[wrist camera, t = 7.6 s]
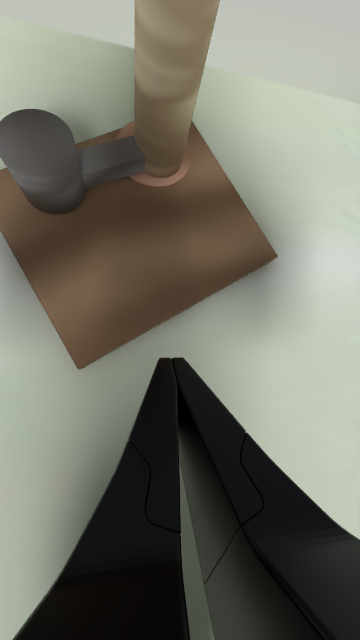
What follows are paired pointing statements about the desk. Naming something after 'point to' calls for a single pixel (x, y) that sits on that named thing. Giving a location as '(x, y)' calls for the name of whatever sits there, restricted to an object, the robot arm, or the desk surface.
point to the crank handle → (149, 123)
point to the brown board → (133, 248)
